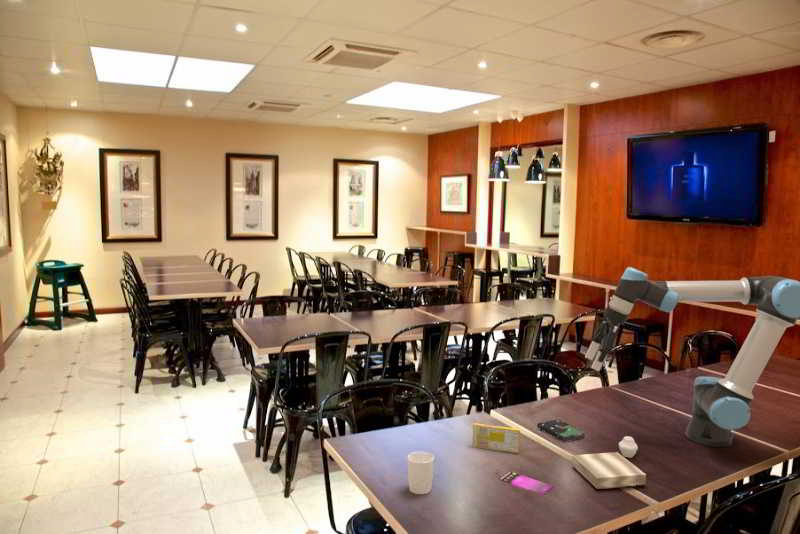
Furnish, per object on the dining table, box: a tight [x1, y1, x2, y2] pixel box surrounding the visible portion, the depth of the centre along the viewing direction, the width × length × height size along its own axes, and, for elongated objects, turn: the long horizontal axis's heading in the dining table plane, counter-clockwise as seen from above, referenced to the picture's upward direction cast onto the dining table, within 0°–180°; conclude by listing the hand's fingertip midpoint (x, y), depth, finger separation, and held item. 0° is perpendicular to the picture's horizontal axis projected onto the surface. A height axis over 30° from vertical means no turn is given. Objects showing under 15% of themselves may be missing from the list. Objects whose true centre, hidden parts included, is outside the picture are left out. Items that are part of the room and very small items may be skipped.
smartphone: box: [499, 471, 554, 496], centre depth 176 cm, size 7×15×1 cm, turn 51°
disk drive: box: [537, 418, 586, 443], centre depth 215 cm, size 10×3×15 cm
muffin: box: [618, 435, 639, 459], centre depth 196 cm, size 6×6×7 cm
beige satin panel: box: [571, 451, 647, 490], centre depth 181 cm, size 16×16×4 cm
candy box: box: [471, 422, 521, 454], centre depth 200 cm, size 16×2×8 cm, turn 71°
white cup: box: [406, 451, 435, 495], centre depth 171 cm, size 8×8×10 cm
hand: (591, 363), depth 204 cm, fingers open, 13 cm apart
